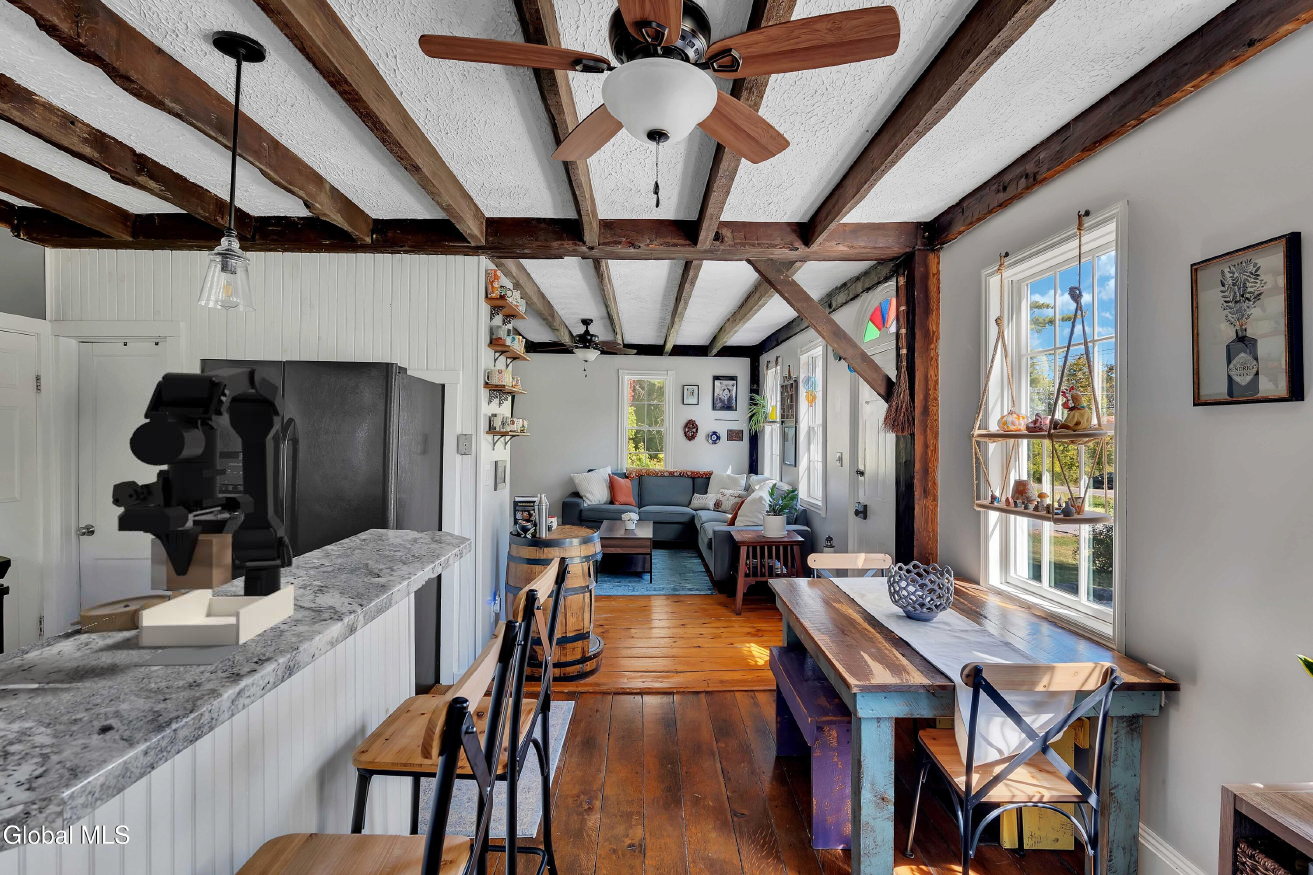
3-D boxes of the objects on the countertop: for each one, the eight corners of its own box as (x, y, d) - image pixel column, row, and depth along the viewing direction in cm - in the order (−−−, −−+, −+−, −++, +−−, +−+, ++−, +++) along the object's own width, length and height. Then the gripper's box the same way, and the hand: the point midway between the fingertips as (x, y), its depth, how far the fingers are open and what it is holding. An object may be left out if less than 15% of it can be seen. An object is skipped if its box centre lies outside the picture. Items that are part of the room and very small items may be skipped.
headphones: (111, 598, 101) (206, 581, 104) (116, 626, 101) (211, 607, 104) (57, 619, 90) (165, 598, 93) (63, 650, 90) (171, 628, 93)
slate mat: (172, 650, 85) (172, 646, 85) (244, 649, 86) (244, 644, 86) (133, 669, 78) (133, 665, 78) (212, 668, 79) (212, 663, 79)
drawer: (208, 617, 101) (208, 585, 100) (293, 616, 102) (293, 584, 102) (138, 649, 86) (139, 612, 86) (239, 647, 87) (239, 611, 87)
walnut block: (173, 582, 84) (173, 533, 84) (231, 581, 85) (231, 533, 85) (150, 590, 80) (151, 538, 80) (212, 589, 81) (212, 538, 81)
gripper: (181, 458, 91) (180, 557, 91) (71, 464, 72) (70, 590, 72) (256, 458, 92) (255, 557, 92) (166, 465, 73) (165, 589, 73)
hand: (192, 571), depth 82 cm, fingers closed on walnut block, 4 cm apart
